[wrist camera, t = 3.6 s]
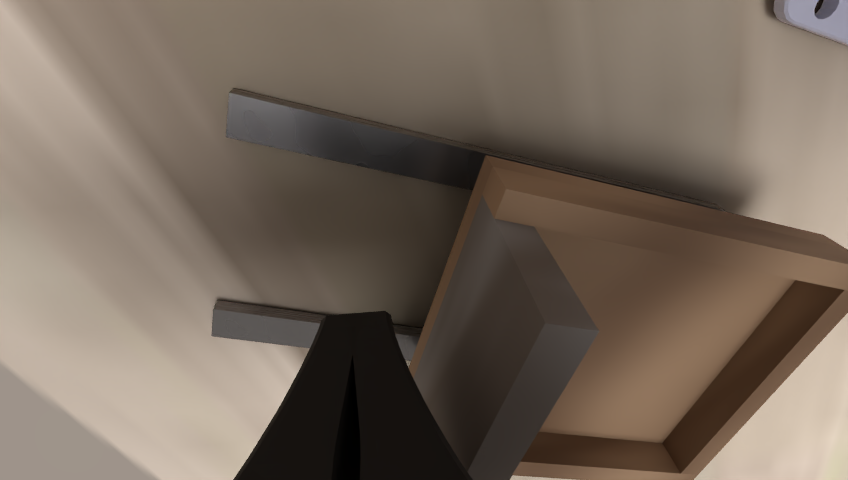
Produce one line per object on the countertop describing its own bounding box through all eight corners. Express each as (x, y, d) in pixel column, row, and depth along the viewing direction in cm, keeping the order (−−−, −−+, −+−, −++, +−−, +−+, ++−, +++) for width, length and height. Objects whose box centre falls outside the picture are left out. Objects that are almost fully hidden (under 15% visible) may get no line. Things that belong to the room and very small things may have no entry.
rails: (715, 203, 13) (724, 210, 13) (603, 375, 17) (608, 384, 16) (233, 88, 10) (229, 92, 10) (215, 326, 14) (211, 336, 13)
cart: (780, 208, 13) (1042, 369, 8) (637, 404, 17) (752, 595, 12) (471, 132, 11) (564, 286, 6) (389, 377, 14) (402, 594, 10)
